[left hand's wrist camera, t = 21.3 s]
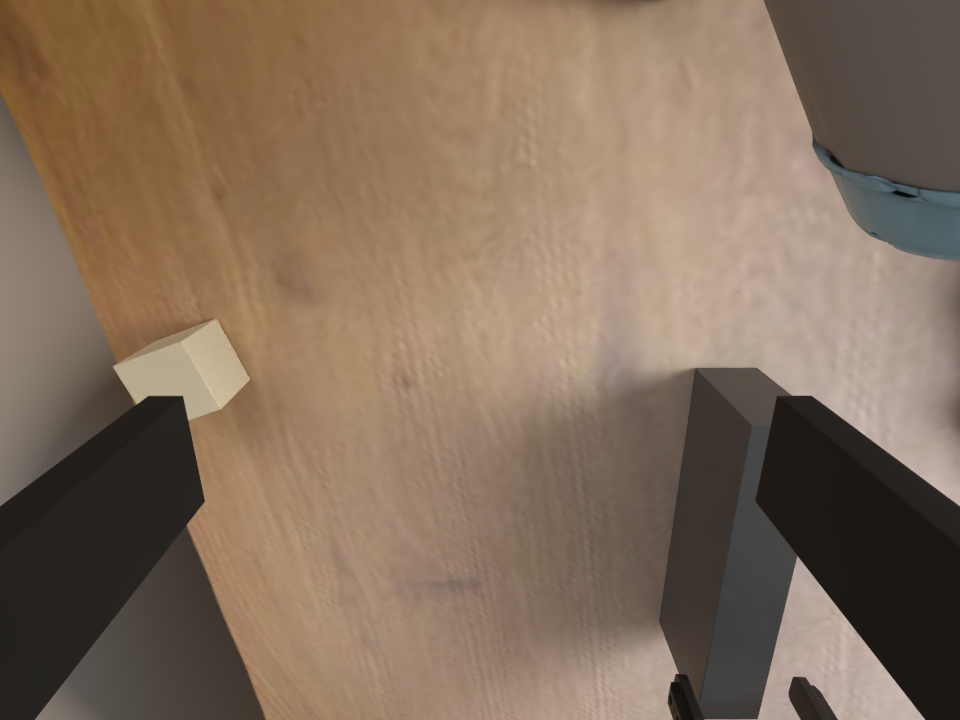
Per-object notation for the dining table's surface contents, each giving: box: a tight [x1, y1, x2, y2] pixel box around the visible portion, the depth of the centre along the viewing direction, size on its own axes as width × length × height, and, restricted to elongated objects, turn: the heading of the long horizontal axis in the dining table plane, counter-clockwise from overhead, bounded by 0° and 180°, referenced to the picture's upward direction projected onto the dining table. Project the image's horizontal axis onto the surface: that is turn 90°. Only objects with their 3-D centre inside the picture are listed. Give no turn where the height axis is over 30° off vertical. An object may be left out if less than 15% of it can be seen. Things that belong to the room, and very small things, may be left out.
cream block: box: [113, 319, 250, 421], centre depth 38 cm, size 5×5×5 cm
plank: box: [659, 368, 797, 719], centre depth 41 cm, size 24×4×9 cm, turn 0°
